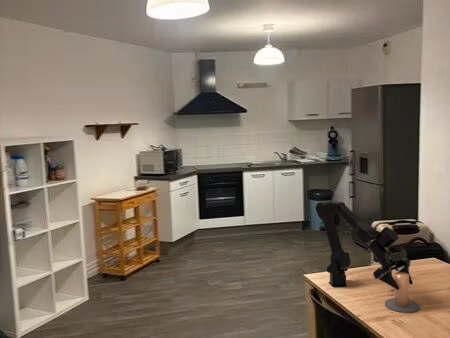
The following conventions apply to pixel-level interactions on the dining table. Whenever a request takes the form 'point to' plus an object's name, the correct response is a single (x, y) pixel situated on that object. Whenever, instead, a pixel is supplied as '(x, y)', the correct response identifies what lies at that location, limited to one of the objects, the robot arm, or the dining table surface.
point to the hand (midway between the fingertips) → (405, 286)
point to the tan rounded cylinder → (402, 289)
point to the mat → (409, 309)
